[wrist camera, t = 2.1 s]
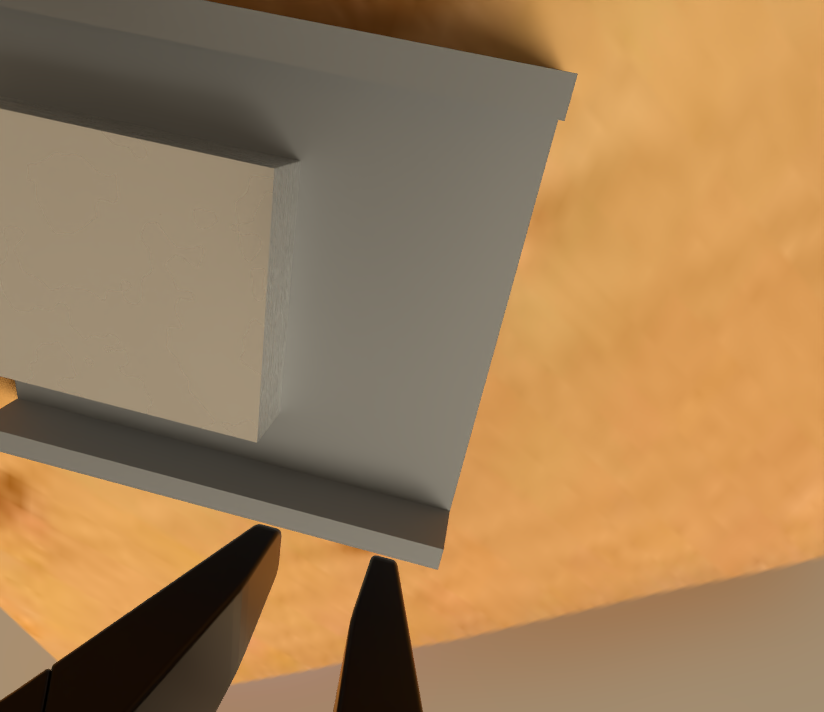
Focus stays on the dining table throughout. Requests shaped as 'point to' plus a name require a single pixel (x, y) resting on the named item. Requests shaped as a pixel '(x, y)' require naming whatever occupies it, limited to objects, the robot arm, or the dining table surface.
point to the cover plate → (144, 267)
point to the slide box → (315, 251)
